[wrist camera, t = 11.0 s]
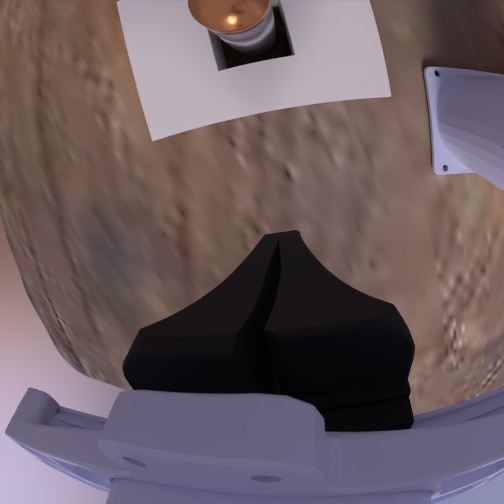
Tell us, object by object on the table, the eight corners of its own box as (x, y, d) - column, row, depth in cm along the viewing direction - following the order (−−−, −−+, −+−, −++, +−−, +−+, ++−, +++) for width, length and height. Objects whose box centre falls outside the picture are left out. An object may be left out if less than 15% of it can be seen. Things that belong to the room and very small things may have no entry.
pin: (273, 13, 14) (264, -39, 7) (279, 53, 16) (274, 24, 8) (227, 19, 15) (184, -26, 7) (232, 58, 16) (192, 37, 8)
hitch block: (340, -34, 11) (349, -54, 8) (373, 94, 16) (391, 96, 13) (141, 11, 14) (116, 2, 11) (172, 132, 19) (152, 141, 16)
